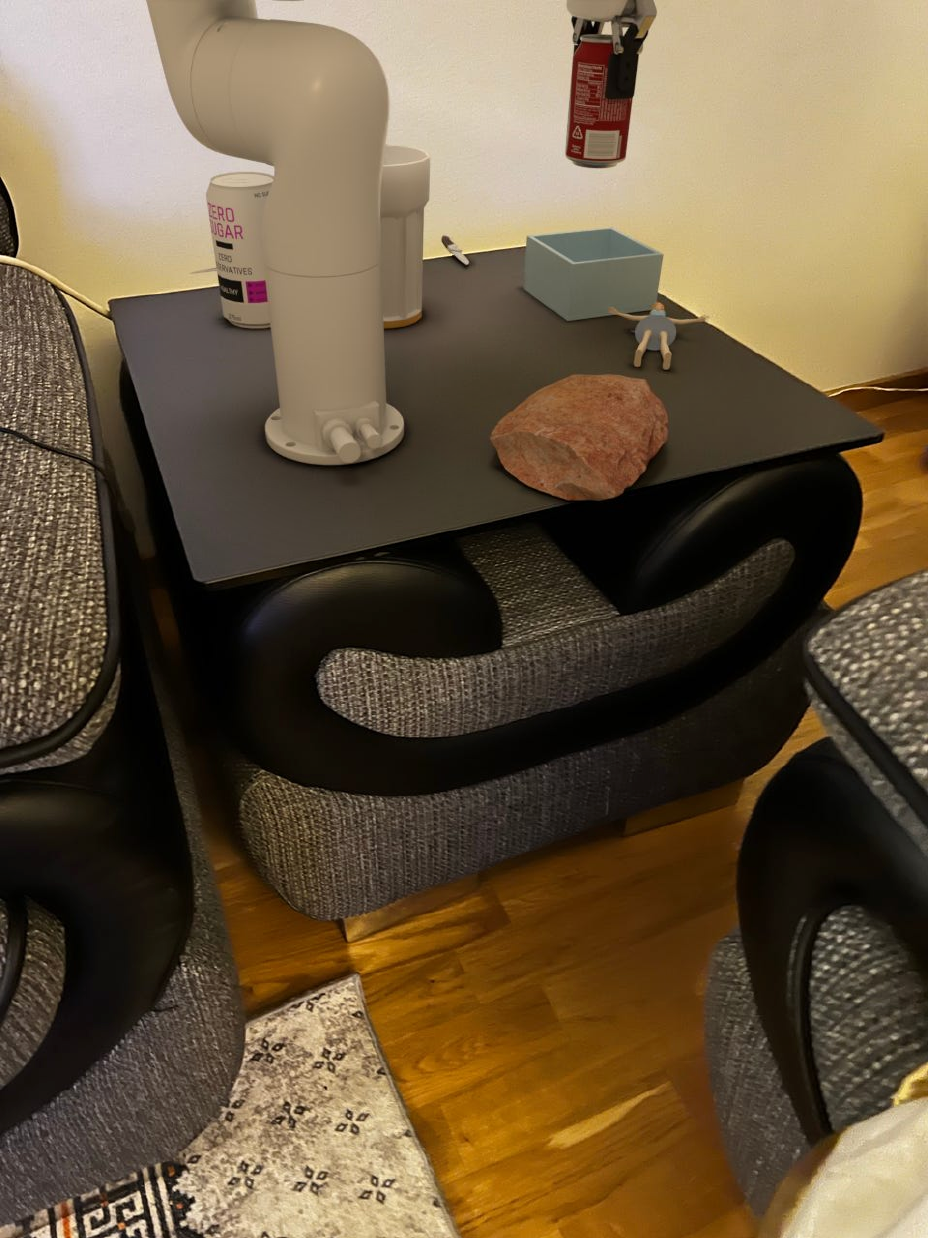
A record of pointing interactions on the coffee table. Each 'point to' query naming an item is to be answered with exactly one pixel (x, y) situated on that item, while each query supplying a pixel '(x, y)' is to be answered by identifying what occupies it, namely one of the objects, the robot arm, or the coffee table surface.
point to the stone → (583, 436)
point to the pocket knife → (453, 248)
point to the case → (591, 272)
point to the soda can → (595, 108)
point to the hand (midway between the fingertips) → (601, 90)
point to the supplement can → (240, 245)
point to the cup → (403, 232)
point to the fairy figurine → (655, 332)
